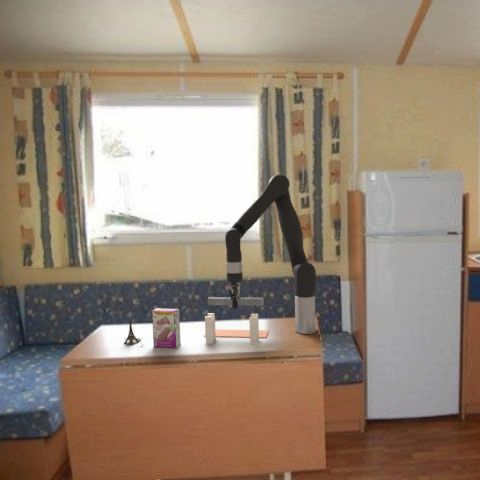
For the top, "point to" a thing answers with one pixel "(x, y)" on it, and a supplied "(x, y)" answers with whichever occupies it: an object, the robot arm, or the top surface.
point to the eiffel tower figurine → (131, 337)
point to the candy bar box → (166, 328)
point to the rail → (239, 302)
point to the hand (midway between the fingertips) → (235, 307)
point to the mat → (238, 333)
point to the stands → (211, 331)
